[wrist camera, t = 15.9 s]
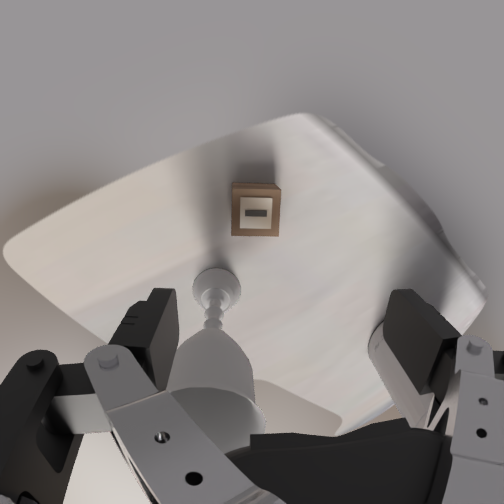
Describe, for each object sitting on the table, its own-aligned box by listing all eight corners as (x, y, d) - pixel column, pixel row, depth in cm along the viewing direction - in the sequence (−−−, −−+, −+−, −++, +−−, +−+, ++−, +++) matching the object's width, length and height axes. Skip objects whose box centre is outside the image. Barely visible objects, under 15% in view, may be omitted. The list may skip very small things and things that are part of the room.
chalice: (217, 245, 31) (199, 365, 14) (264, 288, 33) (291, 424, 16) (169, 292, 32) (122, 423, 16) (216, 330, 34) (207, 469, 17)
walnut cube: (273, 224, 31) (278, 237, 27) (231, 223, 31) (231, 236, 27) (275, 183, 29) (281, 190, 25) (232, 182, 29) (232, 189, 25)
